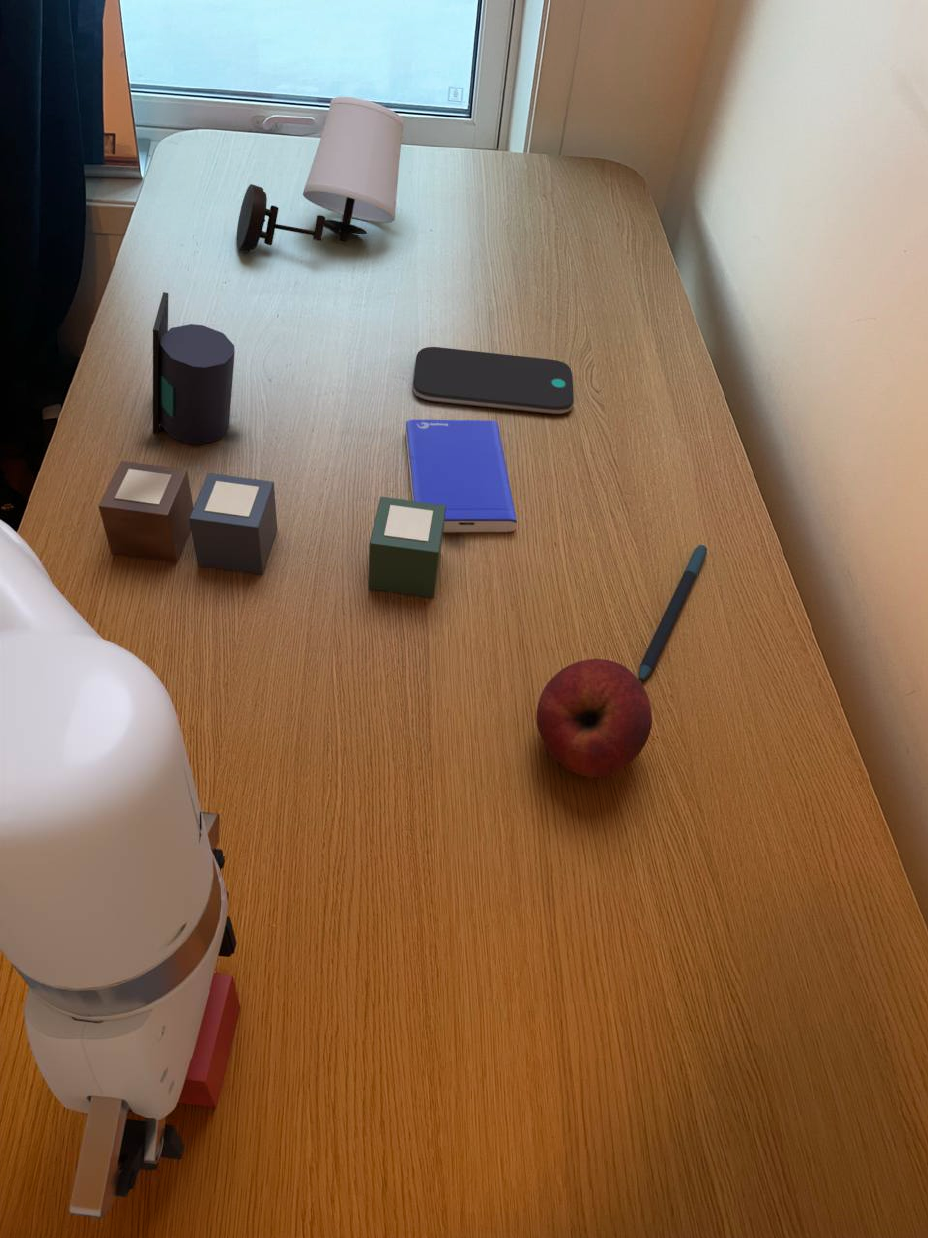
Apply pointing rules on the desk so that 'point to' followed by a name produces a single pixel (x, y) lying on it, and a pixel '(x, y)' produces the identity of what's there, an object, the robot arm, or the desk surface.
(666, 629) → the pen
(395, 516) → the green block
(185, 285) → the desk surface
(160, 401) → the speaker
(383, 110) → the light fixture
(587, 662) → the apple
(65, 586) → the desk surface
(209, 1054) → the red block
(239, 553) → the slate block
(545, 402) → the smartphone
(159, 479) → the walnut block
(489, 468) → the hard drive
